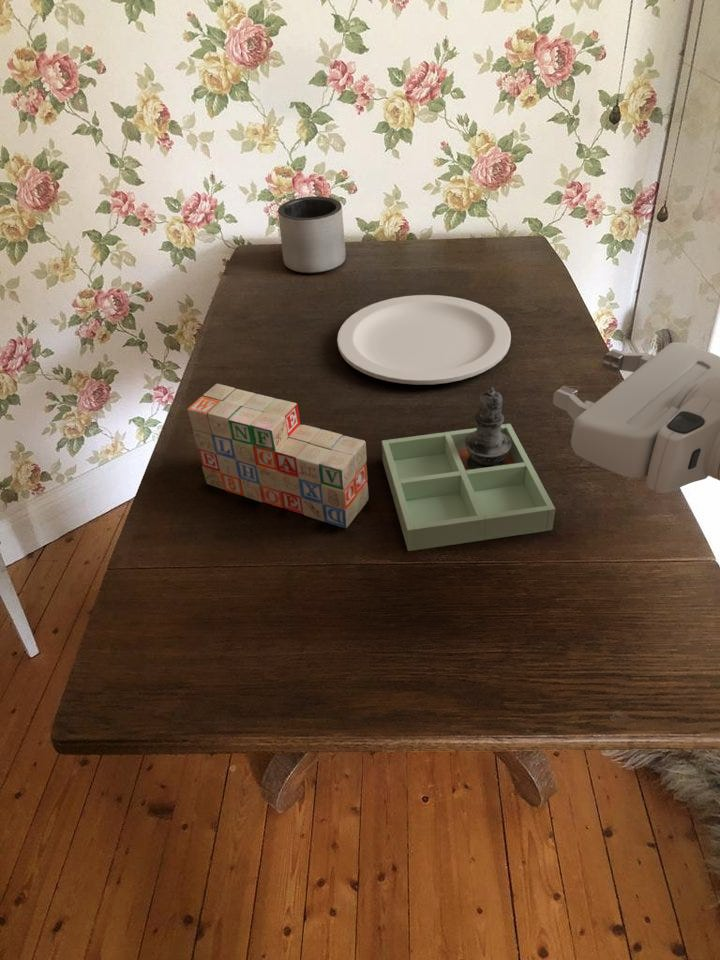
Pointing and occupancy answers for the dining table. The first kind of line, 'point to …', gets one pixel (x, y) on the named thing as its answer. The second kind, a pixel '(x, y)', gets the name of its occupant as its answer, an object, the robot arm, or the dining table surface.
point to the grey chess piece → (488, 434)
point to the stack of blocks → (278, 455)
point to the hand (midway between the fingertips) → (582, 375)
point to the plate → (424, 339)
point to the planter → (312, 234)
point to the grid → (462, 491)
